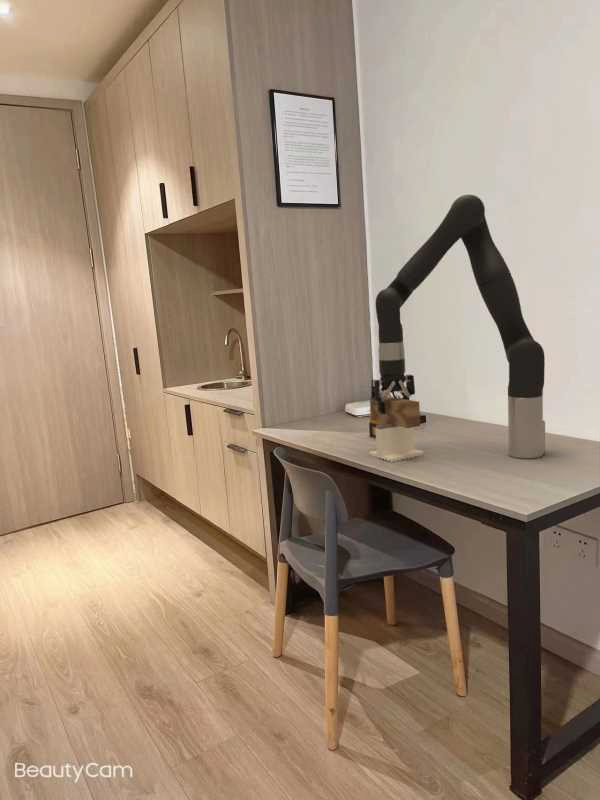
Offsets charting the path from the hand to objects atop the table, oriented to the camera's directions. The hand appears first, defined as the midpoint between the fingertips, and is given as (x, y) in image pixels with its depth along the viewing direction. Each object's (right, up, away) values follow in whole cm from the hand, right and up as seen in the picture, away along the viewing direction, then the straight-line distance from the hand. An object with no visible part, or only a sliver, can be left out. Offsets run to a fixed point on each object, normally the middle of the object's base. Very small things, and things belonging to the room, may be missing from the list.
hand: (394, 411), depth 183 cm
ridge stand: (+1, -13, +2) cm, 13 cm away
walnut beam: (0, -3, 0) cm, 3 cm away
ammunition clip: (-1, -10, +24) cm, 26 cm away
